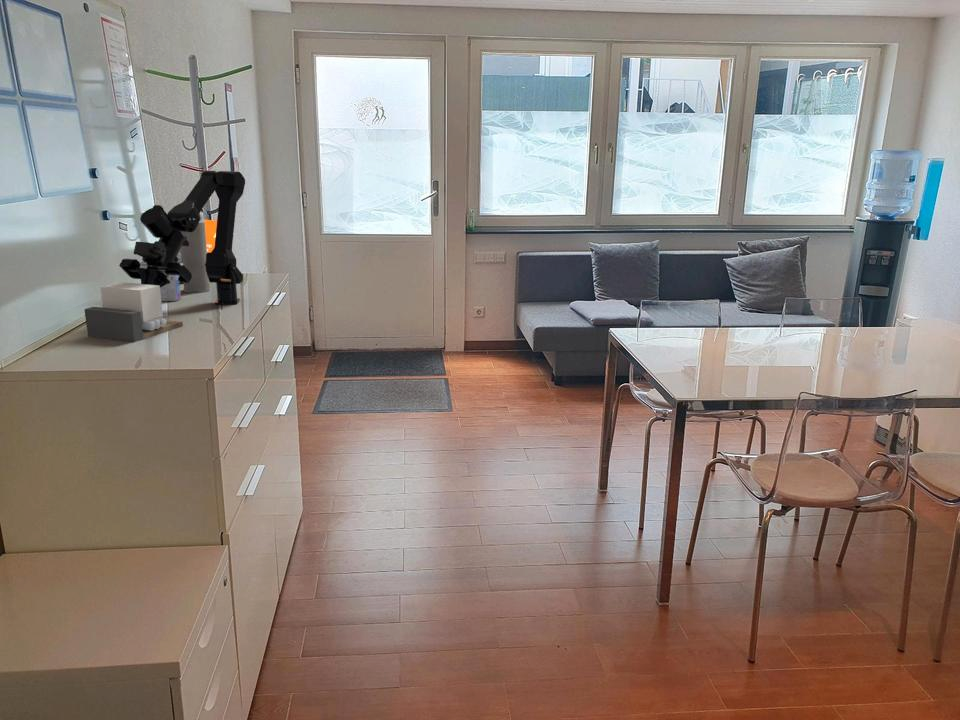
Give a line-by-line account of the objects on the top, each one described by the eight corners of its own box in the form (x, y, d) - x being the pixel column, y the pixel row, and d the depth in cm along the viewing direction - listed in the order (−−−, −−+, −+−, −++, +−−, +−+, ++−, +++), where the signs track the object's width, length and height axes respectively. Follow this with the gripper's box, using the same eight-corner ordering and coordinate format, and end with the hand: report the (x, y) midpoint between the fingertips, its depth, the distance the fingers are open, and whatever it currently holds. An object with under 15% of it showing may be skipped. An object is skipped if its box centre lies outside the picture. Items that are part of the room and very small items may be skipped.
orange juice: (216, 273, 278) (212, 218, 273) (233, 275, 274) (229, 220, 268) (199, 276, 272) (195, 220, 266) (216, 278, 267) (212, 221, 262)
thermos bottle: (199, 287, 251) (192, 202, 244) (215, 290, 247) (208, 203, 239) (179, 290, 245) (171, 203, 237) (194, 293, 241) (187, 204, 233)
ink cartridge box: (181, 297, 234) (177, 251, 230) (178, 301, 229) (173, 254, 225) (148, 298, 232) (143, 251, 228) (143, 301, 227) (138, 254, 223)
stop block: (96, 333, 189) (93, 306, 187) (143, 339, 185) (140, 311, 184) (87, 336, 187) (84, 309, 185) (134, 341, 183) (131, 313, 181)
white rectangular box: (121, 321, 197) (116, 281, 194) (167, 325, 193) (163, 285, 190) (101, 326, 191) (96, 286, 188) (148, 331, 187) (144, 290, 184)
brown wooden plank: (139, 321, 203) (138, 317, 203) (182, 325, 199) (182, 321, 199) (87, 336, 187) (87, 331, 186) (134, 341, 183) (134, 337, 182)
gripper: (120, 227, 196) (93, 275, 189) (181, 231, 191) (155, 281, 184) (144, 254, 206) (119, 300, 199) (202, 258, 201) (179, 306, 194)
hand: (142, 296), depth 194 cm, fingers closed, pressing on white rectangular box
